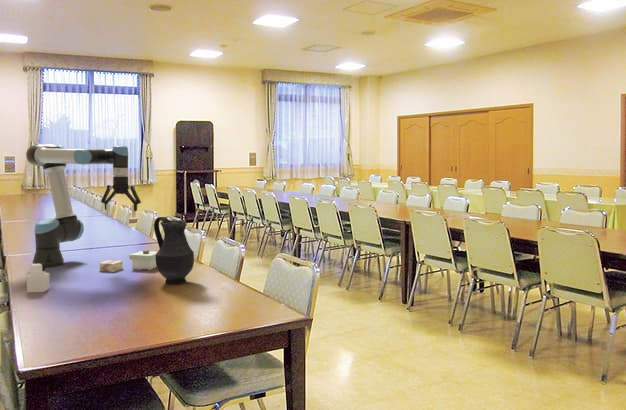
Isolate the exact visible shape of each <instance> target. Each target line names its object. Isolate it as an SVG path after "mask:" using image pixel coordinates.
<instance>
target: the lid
mask: <svg viewBox="0 0 626 410" xmlns="http://www.w3.org/2000/svg"><path fill="white" fill-rule="evenodd" d="M157 252H158V251H152V250H151V251H150V250H149V249H148V250H147V249H144V250H140V251H137V252H135V253H134V252H133V253H131V254H128V255H129V259H128V260H131V261H132V260H146V261H151V260H154V259H156V253H157Z"/></svg>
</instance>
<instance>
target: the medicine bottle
mask: <svg viewBox="0 0 626 410" xmlns="http://www.w3.org/2000/svg"><path fill="white" fill-rule="evenodd" d="M25 281H26V293H31V294H32V293H45V292H46V291H48V290H50V289H51V286H50V284H51V283H50V282H51V281H50V272H46V267H45V264H44V263H33V262H32V263H31V264H30V265H29V274H28V275H26V277H25Z"/></svg>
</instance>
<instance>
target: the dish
mask: <svg viewBox="0 0 626 410" xmlns="http://www.w3.org/2000/svg"><path fill="white" fill-rule="evenodd" d="M131 261H132V262H131V263H132V270H142V269H148V270H147V271H151V270H153V268H154V269H156V268H155V267H157V266H156V259H154V260H151V261H146V260H131ZM150 269H151V270H150Z"/></svg>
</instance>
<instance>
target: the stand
mask: <svg viewBox="0 0 626 410" xmlns="http://www.w3.org/2000/svg"><path fill="white" fill-rule="evenodd" d="M123 264H124V262H123V260H110V259H108V260H105V261H102V262H99V272H110V273H114V272H118V271H121V270H123V269H124V267H123Z"/></svg>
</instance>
